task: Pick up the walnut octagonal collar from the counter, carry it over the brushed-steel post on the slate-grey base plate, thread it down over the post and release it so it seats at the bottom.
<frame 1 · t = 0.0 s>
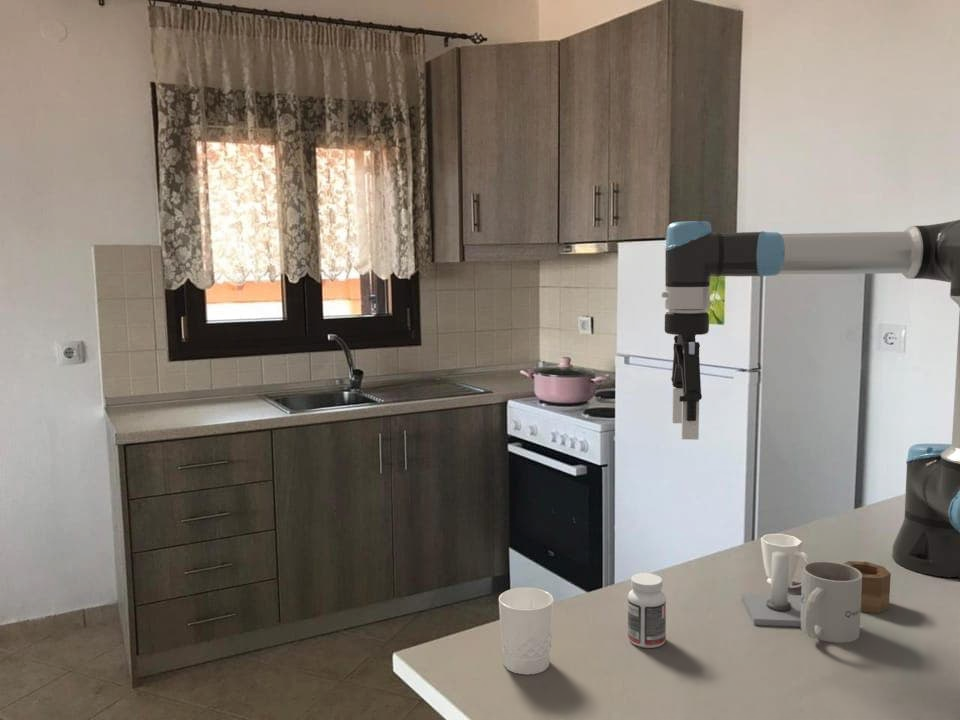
hand: (684, 430, 143), 28 cm above the countertop, fingers open, 13 cm apart
mug: (822, 636, 126), on the countertop, touching post
collar: (863, 603, 136), on the countertop
post: (778, 612, 133), on the countertop
pill bottle: (646, 641, 124), on the countertop
cup: (786, 586, 144), on the countertop
white cup: (526, 665, 117), on the countertop
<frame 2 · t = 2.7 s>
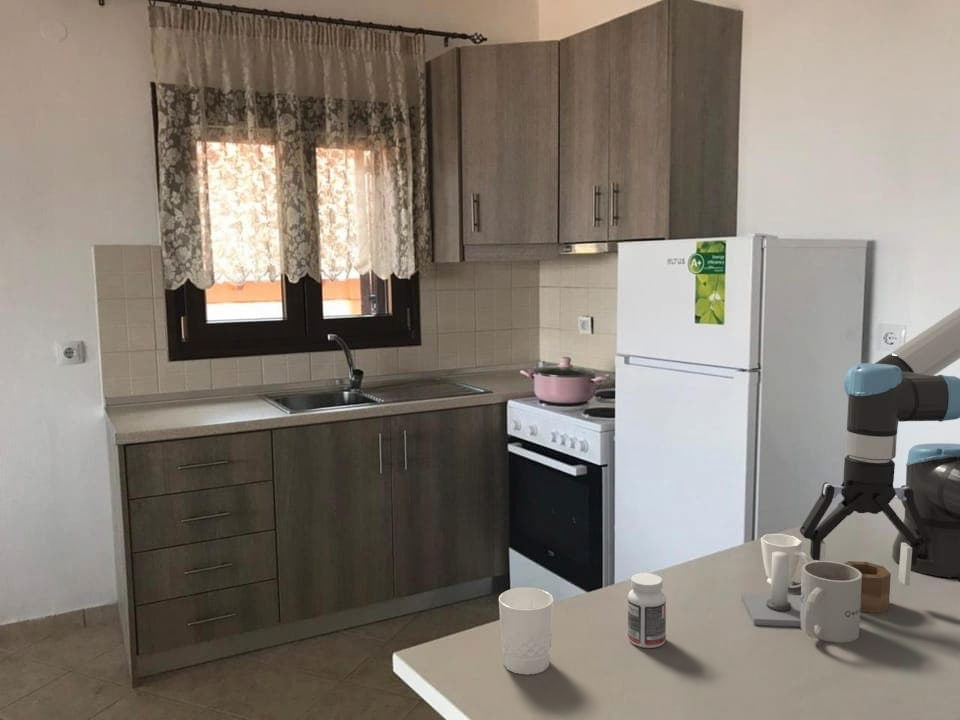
hand: (861, 580, 136), 4 cm above the countertop, fingers open, 13 cm apart
nothing on the countertop moved.
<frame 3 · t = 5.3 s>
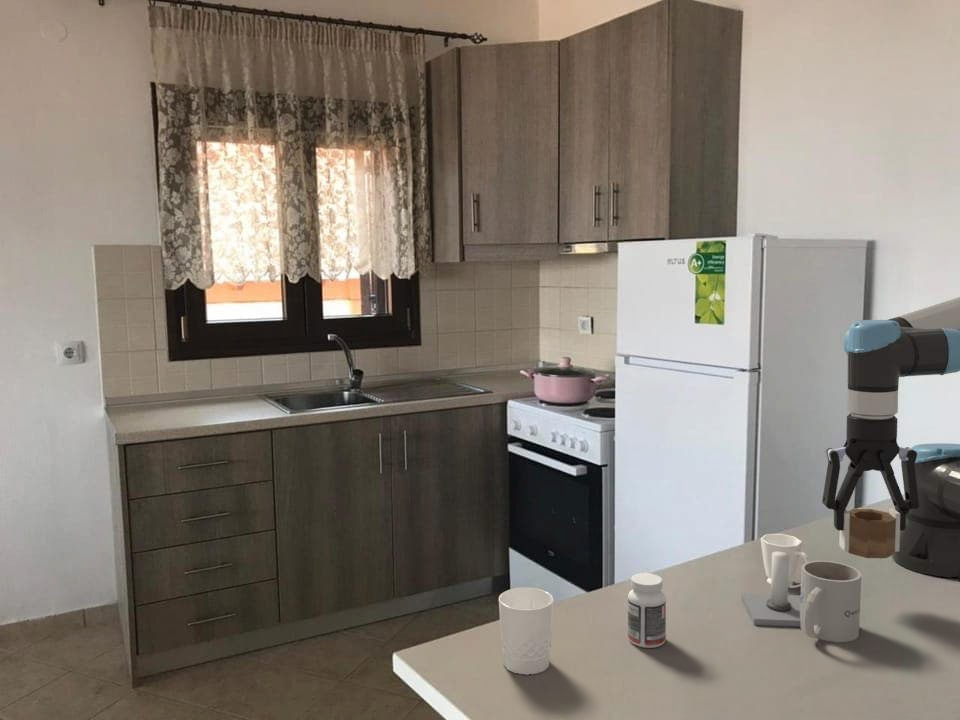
hand: (868, 548, 135), 10 cm above the countertop, fingers closed on collar, 7 cm apart
collar: (868, 550, 135), point 9 cm above the countertop, touching gripper
everything else where it was.
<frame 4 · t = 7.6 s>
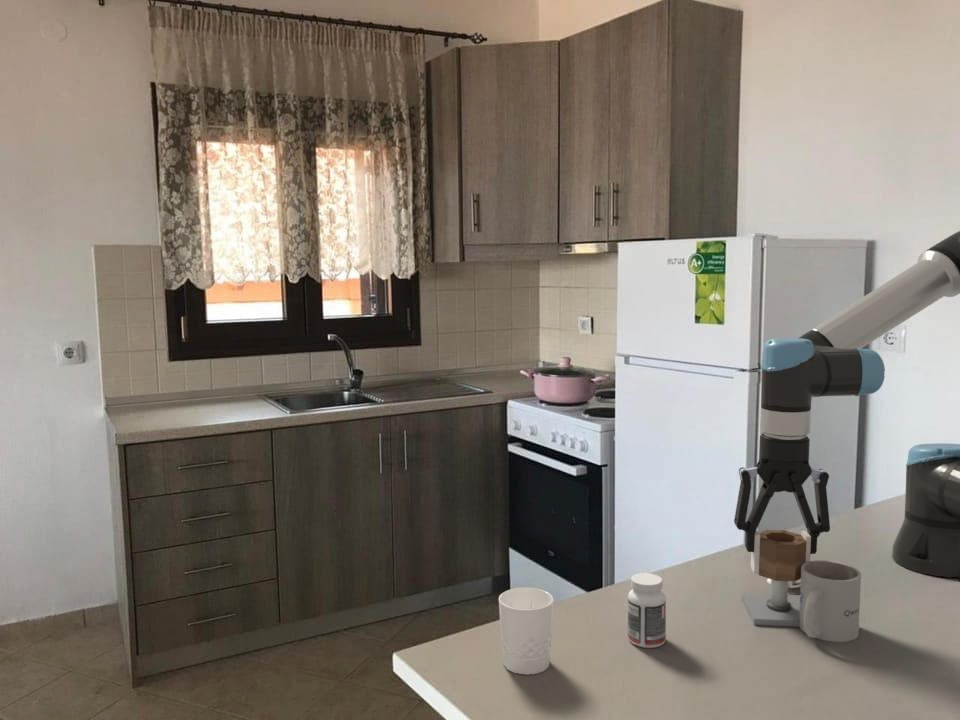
hand: (779, 570, 132), 7 cm above the countertop, fingers closed on collar, 7 cm apart
mug: (821, 635, 126), on the countertop, touching gripper, post
collar: (779, 572, 132), point 7 cm above the countertop, touching gripper
everything else where it was.
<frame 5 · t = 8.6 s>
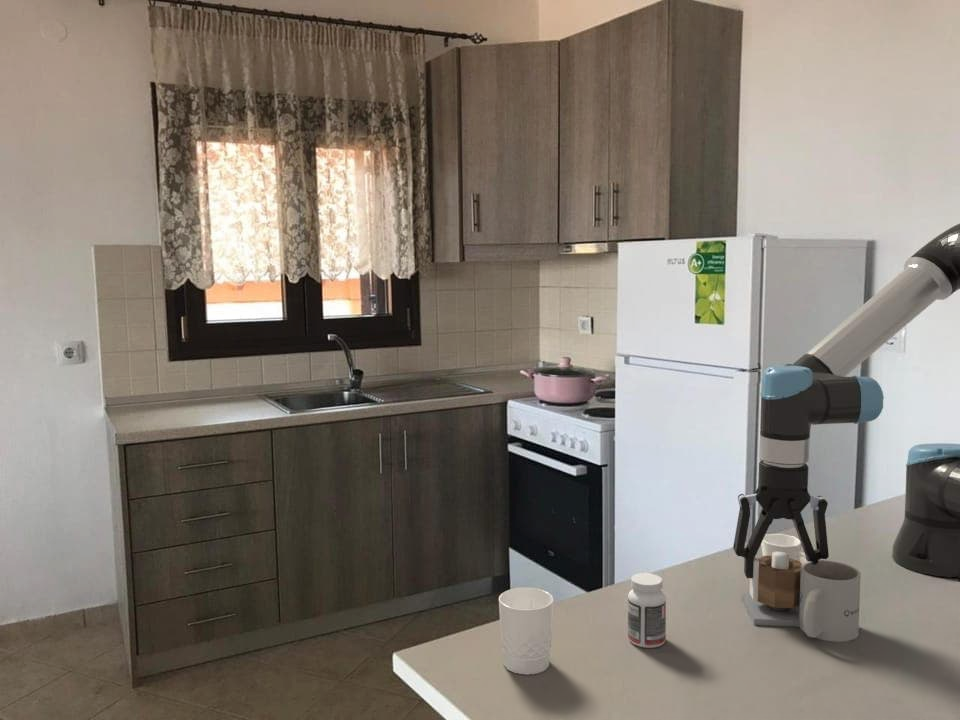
hand: (778, 597, 133), 3 cm above the countertop, fingers closed on collar, 7 cm apart
collar: (778, 598, 133), point 2 cm above the countertop, touching gripper
everything else where it was.
when the fingers open (2 cm above the countertop, at t = 9.5 s): collar stays where it is, resting on post.
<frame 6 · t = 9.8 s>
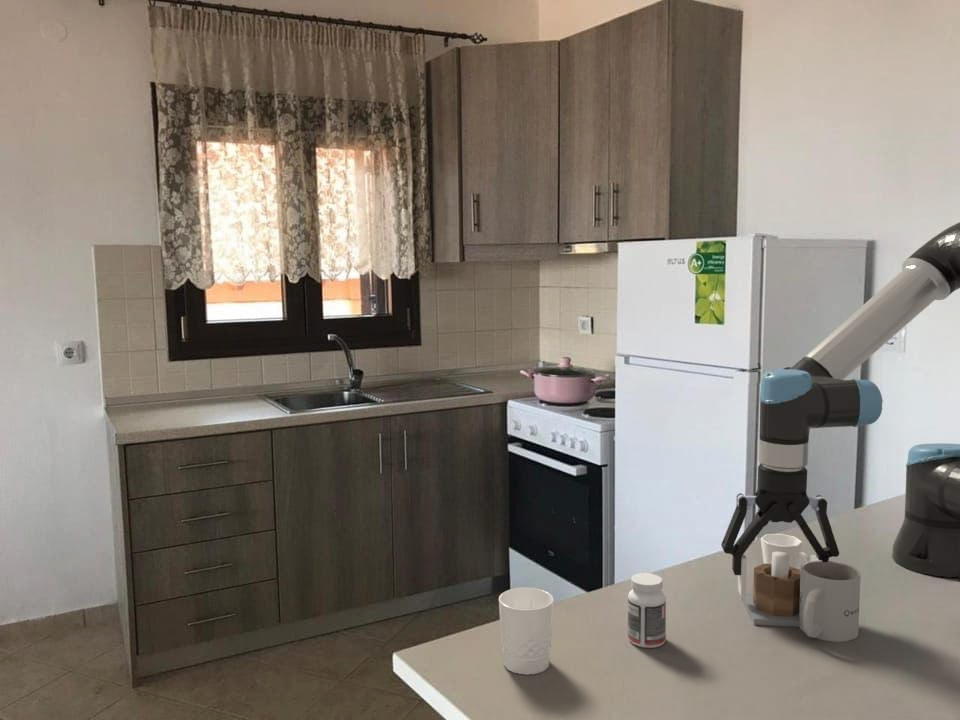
hand: (777, 594, 133), 3 cm above the countertop, fingers open, 11 cm apart
collar: (777, 606, 133), point 1 cm above the countertop, touching post
everything else where it was.
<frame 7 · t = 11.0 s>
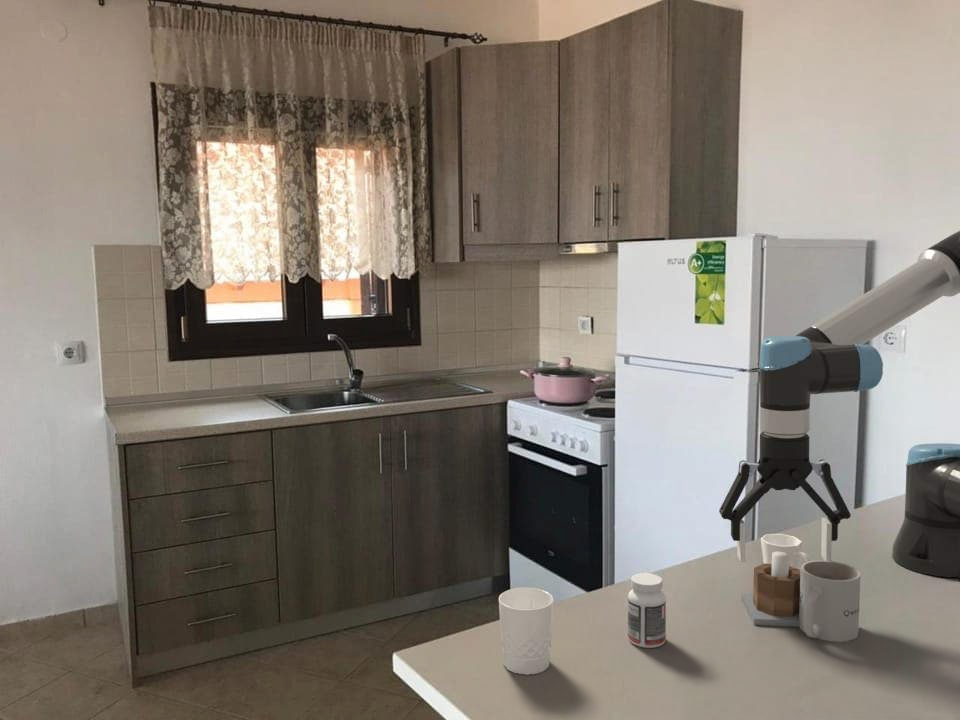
hand: (783, 559, 132), 9 cm above the countertop, fingers open, 13 cm apart
nothing on the countertop moved.
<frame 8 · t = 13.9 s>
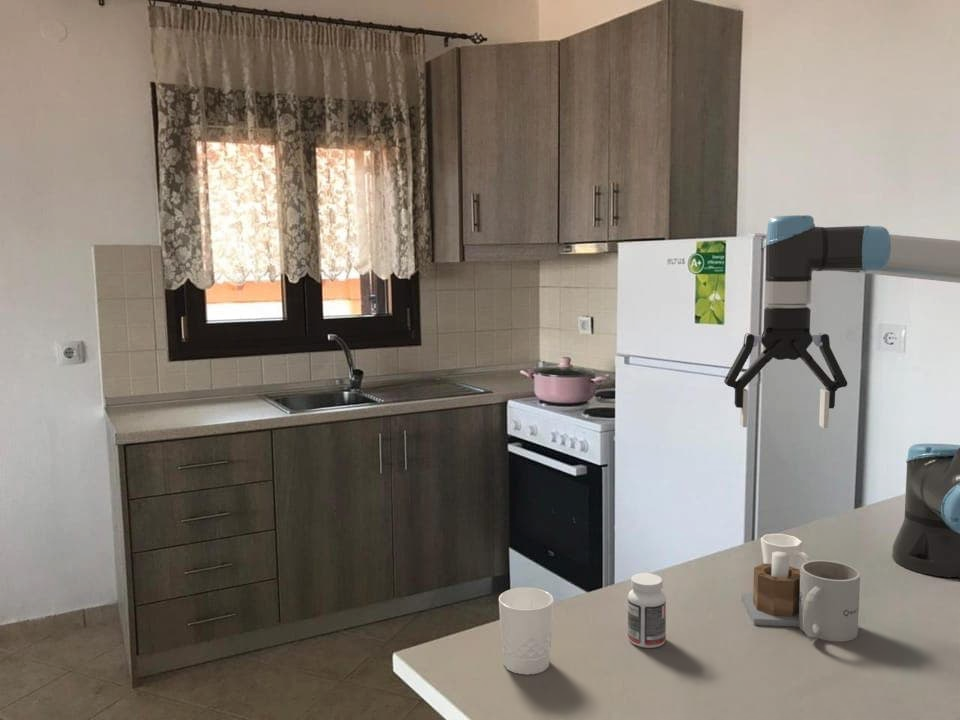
hand: (783, 426, 142), 29 cm above the countertop, fingers open, 13 cm apart
mug: (820, 635, 126), on the countertop, touching post
everything else where it was.
at the end: collar 0.2 cm off-centre on the post, point 1.0 cm above the post's base; collar tilted 0°; the gripper is holding nothing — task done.
